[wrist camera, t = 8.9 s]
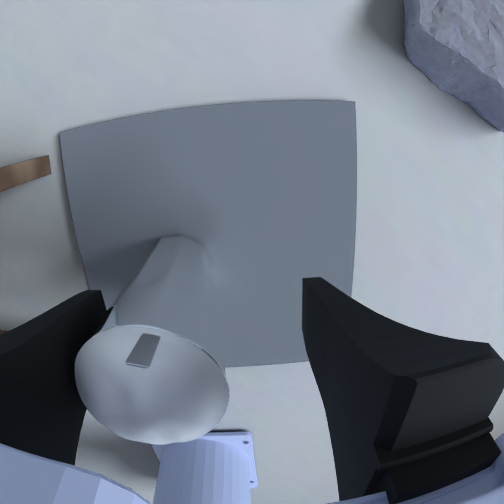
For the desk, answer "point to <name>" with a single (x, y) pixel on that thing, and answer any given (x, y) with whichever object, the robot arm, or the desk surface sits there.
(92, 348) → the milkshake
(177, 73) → the desk surface
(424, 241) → the desk surface
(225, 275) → the mat
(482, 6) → the stone block
